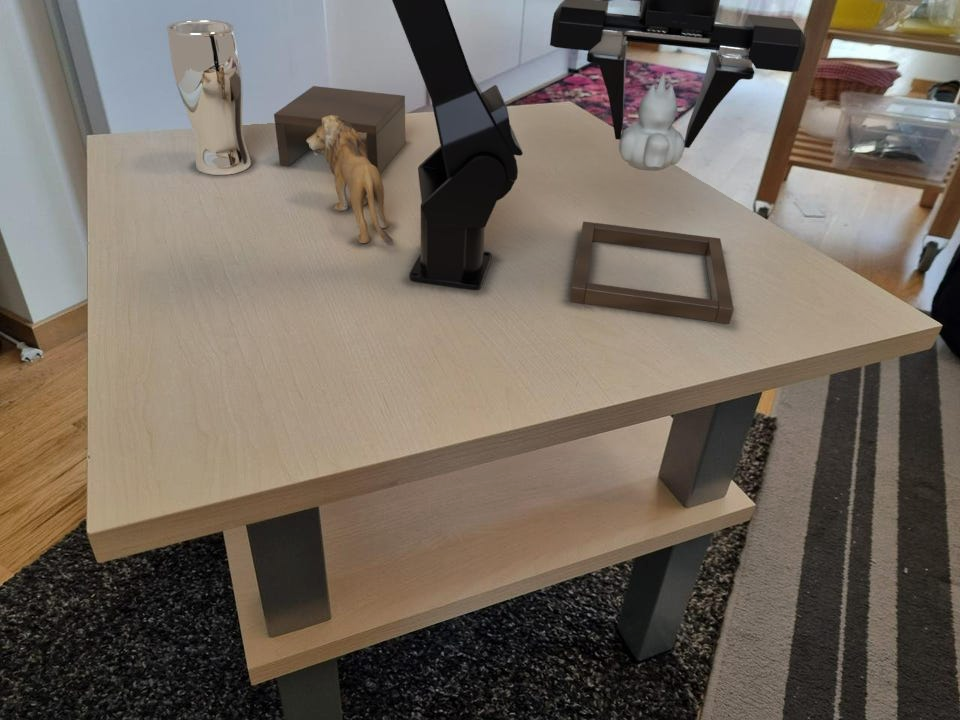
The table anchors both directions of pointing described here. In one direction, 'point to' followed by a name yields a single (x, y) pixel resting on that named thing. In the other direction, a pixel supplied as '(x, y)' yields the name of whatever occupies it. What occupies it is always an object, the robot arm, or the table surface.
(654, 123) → the white figurine
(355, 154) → the lion figurine
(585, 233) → the brown rectangular frame
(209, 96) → the beer glass
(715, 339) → the table surface
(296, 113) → the small brown stand
